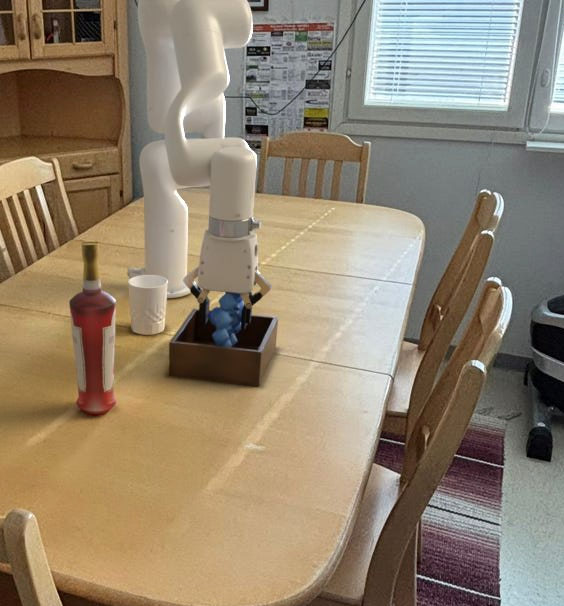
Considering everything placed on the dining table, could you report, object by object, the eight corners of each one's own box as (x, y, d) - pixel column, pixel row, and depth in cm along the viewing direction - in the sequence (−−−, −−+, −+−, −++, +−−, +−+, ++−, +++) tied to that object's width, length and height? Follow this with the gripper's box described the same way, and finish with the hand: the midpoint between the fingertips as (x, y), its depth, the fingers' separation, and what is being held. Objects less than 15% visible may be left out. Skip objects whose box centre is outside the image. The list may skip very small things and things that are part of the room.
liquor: (76, 399, 148) (68, 236, 133) (119, 399, 148) (115, 235, 133) (73, 418, 142) (63, 250, 127) (117, 418, 142) (113, 249, 127)
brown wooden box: (168, 375, 156) (169, 342, 152) (192, 340, 170) (193, 308, 166) (258, 386, 152) (261, 352, 148) (275, 349, 165) (278, 316, 162)
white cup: (173, 325, 176) (173, 277, 171) (158, 338, 171) (158, 289, 165) (138, 319, 179) (137, 272, 174) (122, 333, 173) (121, 284, 168)
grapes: (217, 333, 165) (220, 272, 158) (250, 339, 163) (255, 277, 156) (194, 356, 157) (197, 292, 150) (229, 362, 154) (233, 298, 147)
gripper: (284, 223, 148) (274, 321, 158) (186, 215, 152) (184, 311, 162) (276, 236, 142) (267, 337, 152) (175, 228, 146) (173, 326, 156)
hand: (224, 323), depth 157 cm, fingers closed on grapes, 6 cm apart
